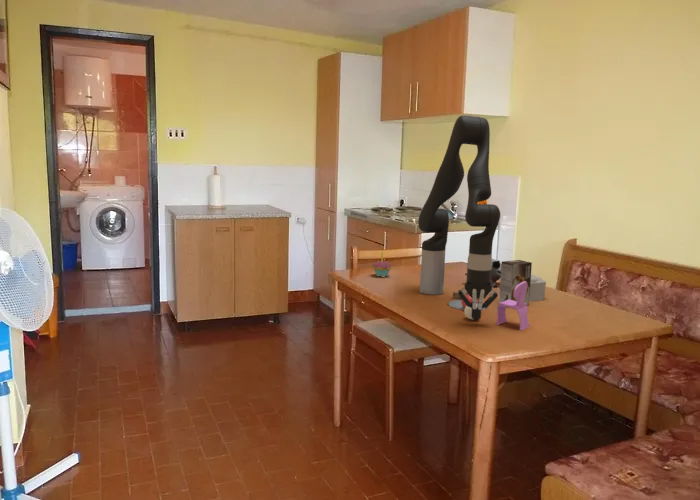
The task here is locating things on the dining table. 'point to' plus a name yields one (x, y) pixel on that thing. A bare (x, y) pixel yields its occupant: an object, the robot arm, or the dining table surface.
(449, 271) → the dining table surface
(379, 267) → the cupcake
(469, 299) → the red ball
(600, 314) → the dining table surface
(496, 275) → the lucky cat figurine
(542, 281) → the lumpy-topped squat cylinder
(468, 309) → the cream ball
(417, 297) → the dining table surface
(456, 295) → the strip
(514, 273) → the coffee box
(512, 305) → the toy chair
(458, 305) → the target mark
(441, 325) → the dining table surface
